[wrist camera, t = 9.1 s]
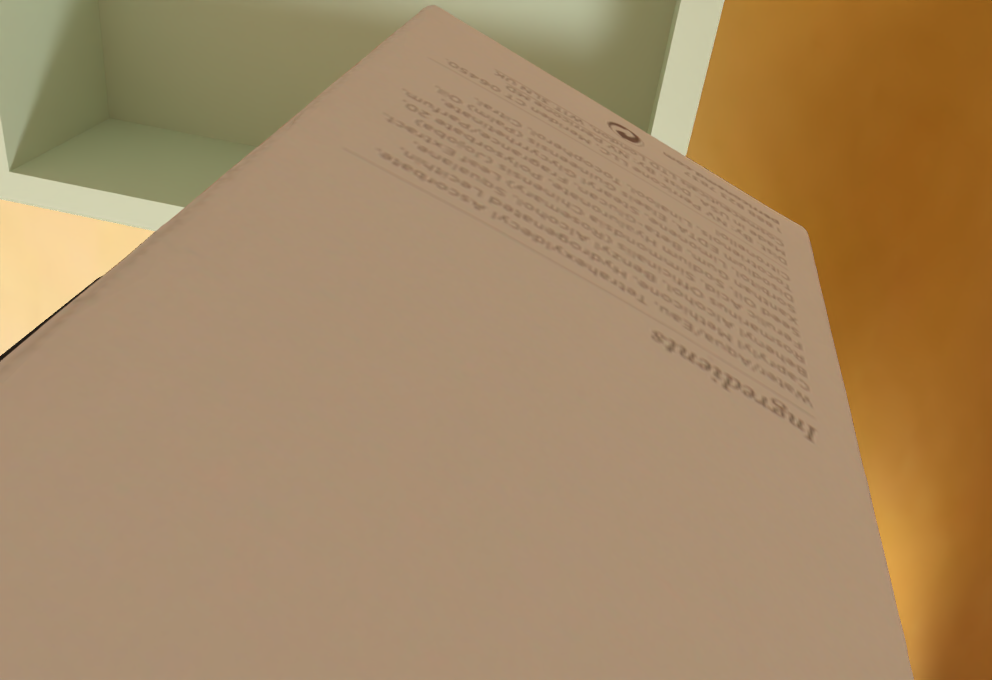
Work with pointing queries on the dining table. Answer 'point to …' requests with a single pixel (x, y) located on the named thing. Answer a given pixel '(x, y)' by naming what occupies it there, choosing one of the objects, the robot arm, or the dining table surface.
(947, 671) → the dining table surface
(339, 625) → the small box
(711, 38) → the upper crate
